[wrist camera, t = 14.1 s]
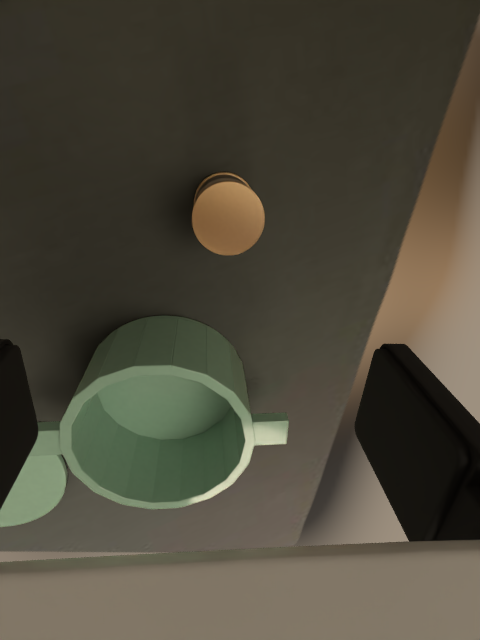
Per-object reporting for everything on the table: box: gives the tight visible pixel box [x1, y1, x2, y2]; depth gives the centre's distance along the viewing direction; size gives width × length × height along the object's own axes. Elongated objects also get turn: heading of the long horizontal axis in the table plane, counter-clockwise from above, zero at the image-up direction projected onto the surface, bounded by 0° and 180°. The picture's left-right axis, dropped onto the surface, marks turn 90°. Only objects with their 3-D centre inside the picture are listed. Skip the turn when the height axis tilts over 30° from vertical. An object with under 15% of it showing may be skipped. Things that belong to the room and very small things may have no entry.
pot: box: [30, 315, 289, 509], centre depth 31 cm, size 14×19×8 cm
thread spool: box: [192, 172, 265, 255], centre depth 25 cm, size 4×4×6 cm
